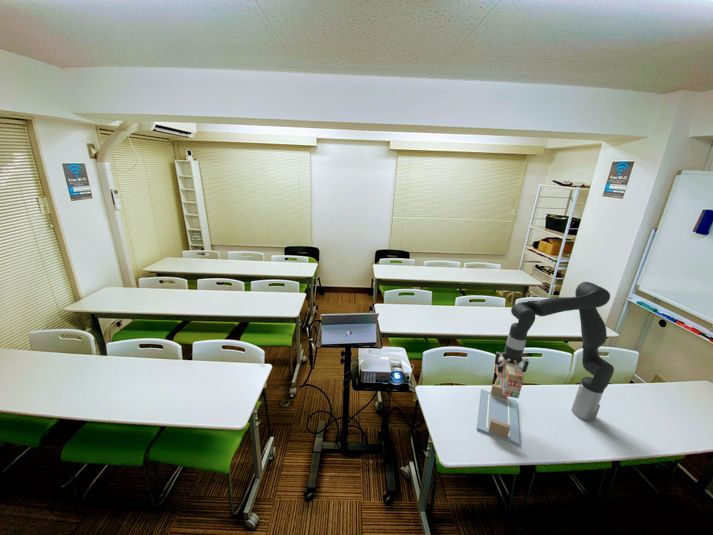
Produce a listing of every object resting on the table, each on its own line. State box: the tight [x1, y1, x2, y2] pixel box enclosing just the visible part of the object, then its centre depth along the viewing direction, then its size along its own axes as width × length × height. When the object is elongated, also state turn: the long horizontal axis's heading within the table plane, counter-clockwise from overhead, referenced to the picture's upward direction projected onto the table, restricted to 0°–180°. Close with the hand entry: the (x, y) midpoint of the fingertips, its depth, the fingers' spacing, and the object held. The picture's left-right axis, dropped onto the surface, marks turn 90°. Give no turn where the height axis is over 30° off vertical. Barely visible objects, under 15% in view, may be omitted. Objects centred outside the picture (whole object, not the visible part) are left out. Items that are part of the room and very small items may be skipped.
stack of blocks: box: [494, 356, 525, 399], centre depth 140 cm, size 21×6×12 cm, turn 166°
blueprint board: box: [476, 383, 521, 447], centre depth 146 cm, size 18×30×7 cm, turn 154°
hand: (507, 374), depth 139 cm, fingers closed on stack of blocks, 7 cm apart
